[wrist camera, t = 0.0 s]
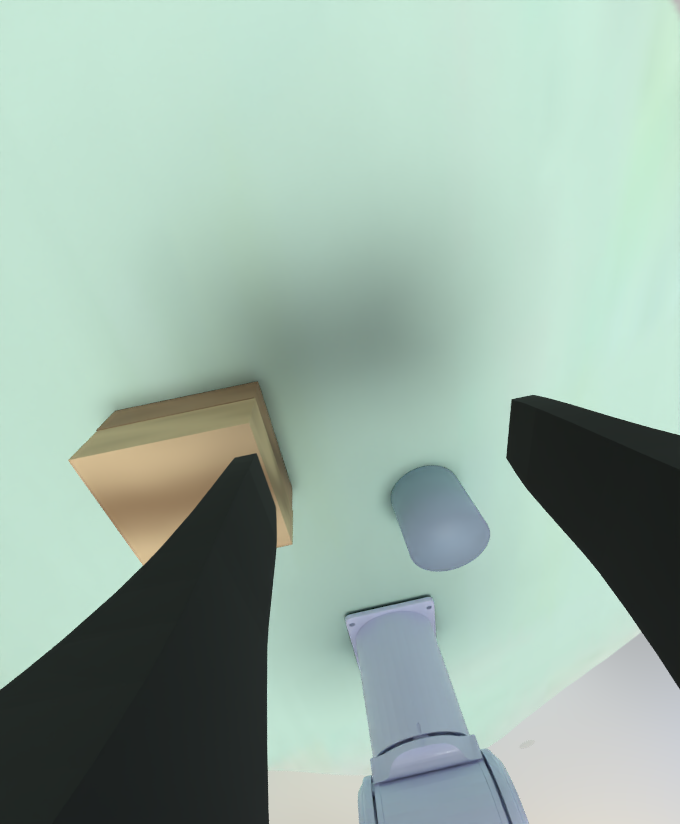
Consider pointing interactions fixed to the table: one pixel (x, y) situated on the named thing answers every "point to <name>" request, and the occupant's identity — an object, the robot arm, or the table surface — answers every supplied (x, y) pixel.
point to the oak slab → (174, 470)
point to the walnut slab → (203, 402)
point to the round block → (438, 519)
